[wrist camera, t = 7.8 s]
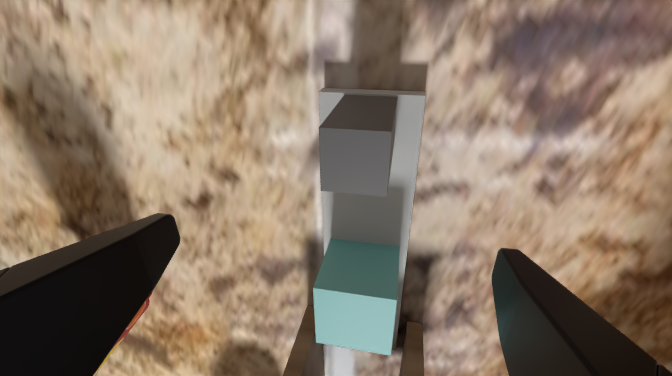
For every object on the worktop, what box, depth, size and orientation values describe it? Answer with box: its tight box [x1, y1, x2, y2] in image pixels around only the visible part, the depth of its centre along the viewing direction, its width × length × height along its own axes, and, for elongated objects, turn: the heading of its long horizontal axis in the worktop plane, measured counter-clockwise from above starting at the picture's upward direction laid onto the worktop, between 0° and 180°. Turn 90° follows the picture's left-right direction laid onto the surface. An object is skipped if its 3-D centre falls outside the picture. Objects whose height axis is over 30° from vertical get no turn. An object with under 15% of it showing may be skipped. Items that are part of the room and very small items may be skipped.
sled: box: [313, 88, 426, 356], centre depth 20 cm, size 20×6×7 cm, turn 0°
